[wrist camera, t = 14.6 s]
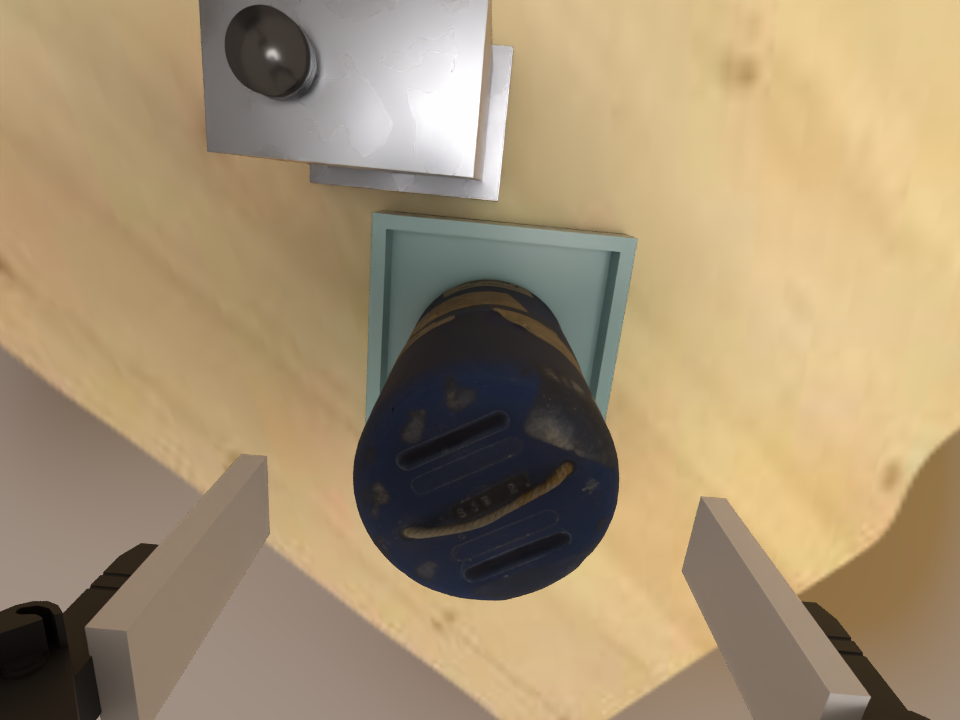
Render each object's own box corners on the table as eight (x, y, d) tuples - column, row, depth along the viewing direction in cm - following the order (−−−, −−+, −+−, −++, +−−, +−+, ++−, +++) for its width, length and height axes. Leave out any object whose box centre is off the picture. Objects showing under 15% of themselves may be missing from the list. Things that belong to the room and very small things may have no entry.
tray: (374, 444, 37) (364, 465, 35) (383, 210, 33) (372, 212, 30) (585, 465, 37) (593, 488, 35) (625, 234, 33) (637, 238, 30)
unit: (313, 182, 32) (159, 179, 18) (313, 29, 30) (134, -124, 15) (497, 200, 32) (499, 212, 18) (513, 49, 30) (529, -85, 15)
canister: (397, 290, 33) (293, 407, 16) (551, 259, 32) (614, 349, 15) (432, 430, 36) (376, 656, 19) (575, 405, 35) (649, 618, 18)
